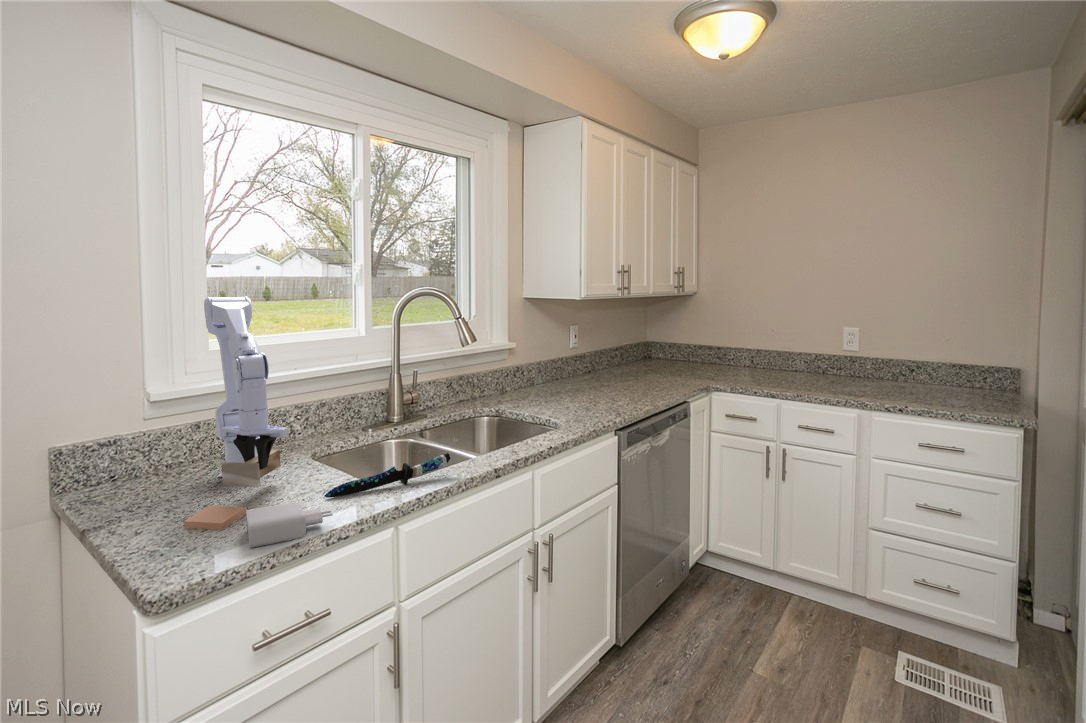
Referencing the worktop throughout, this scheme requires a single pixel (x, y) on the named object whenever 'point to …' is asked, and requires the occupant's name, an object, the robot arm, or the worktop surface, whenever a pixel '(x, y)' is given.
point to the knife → (389, 477)
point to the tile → (215, 517)
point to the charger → (280, 523)
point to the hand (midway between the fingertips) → (257, 467)
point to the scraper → (248, 471)
